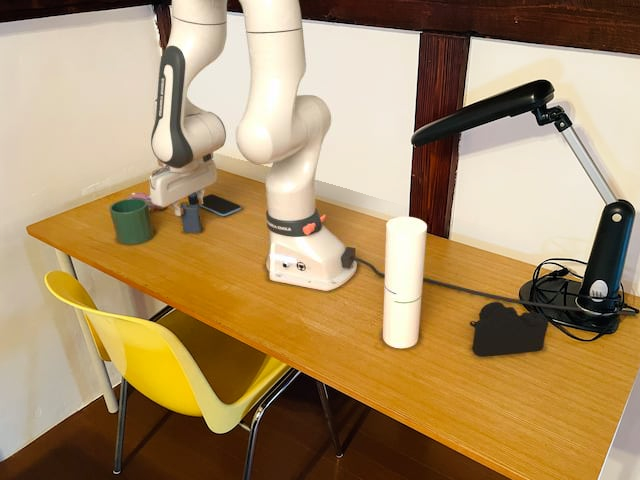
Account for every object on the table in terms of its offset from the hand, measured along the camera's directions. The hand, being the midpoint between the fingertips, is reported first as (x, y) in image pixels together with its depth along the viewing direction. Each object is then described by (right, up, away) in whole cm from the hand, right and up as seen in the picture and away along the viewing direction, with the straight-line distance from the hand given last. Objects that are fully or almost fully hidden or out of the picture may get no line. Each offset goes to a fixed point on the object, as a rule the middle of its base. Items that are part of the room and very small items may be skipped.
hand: (189, 209), depth 142 cm
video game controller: (-17, +1, +14) cm, 22 cm away
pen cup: (-14, -7, +1) cm, 16 cm away
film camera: (+74, -30, -36) cm, 87 cm away
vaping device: (0, -6, +3) cm, 6 cm away
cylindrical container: (+54, -30, -35) cm, 71 cm away
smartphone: (+3, +3, +17) cm, 17 cm away
